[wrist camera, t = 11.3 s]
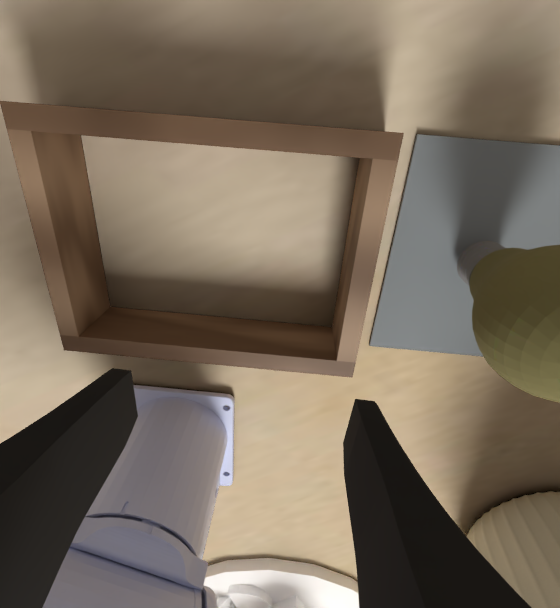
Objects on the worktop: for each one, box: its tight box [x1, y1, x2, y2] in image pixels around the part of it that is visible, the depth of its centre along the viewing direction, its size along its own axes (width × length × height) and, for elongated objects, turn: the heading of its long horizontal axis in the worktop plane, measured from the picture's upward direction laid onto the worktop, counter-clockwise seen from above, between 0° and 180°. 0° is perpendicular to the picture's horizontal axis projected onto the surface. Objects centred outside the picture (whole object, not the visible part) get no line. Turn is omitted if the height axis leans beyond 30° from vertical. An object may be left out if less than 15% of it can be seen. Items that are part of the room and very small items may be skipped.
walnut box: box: [0, 101, 404, 377], centre depth 18 cm, size 12×16×4 cm
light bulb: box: [457, 240, 560, 403], centre depth 14 cm, size 6×6×10 cm
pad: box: [369, 134, 560, 357], centre depth 19 cm, size 12×9×1 cm
